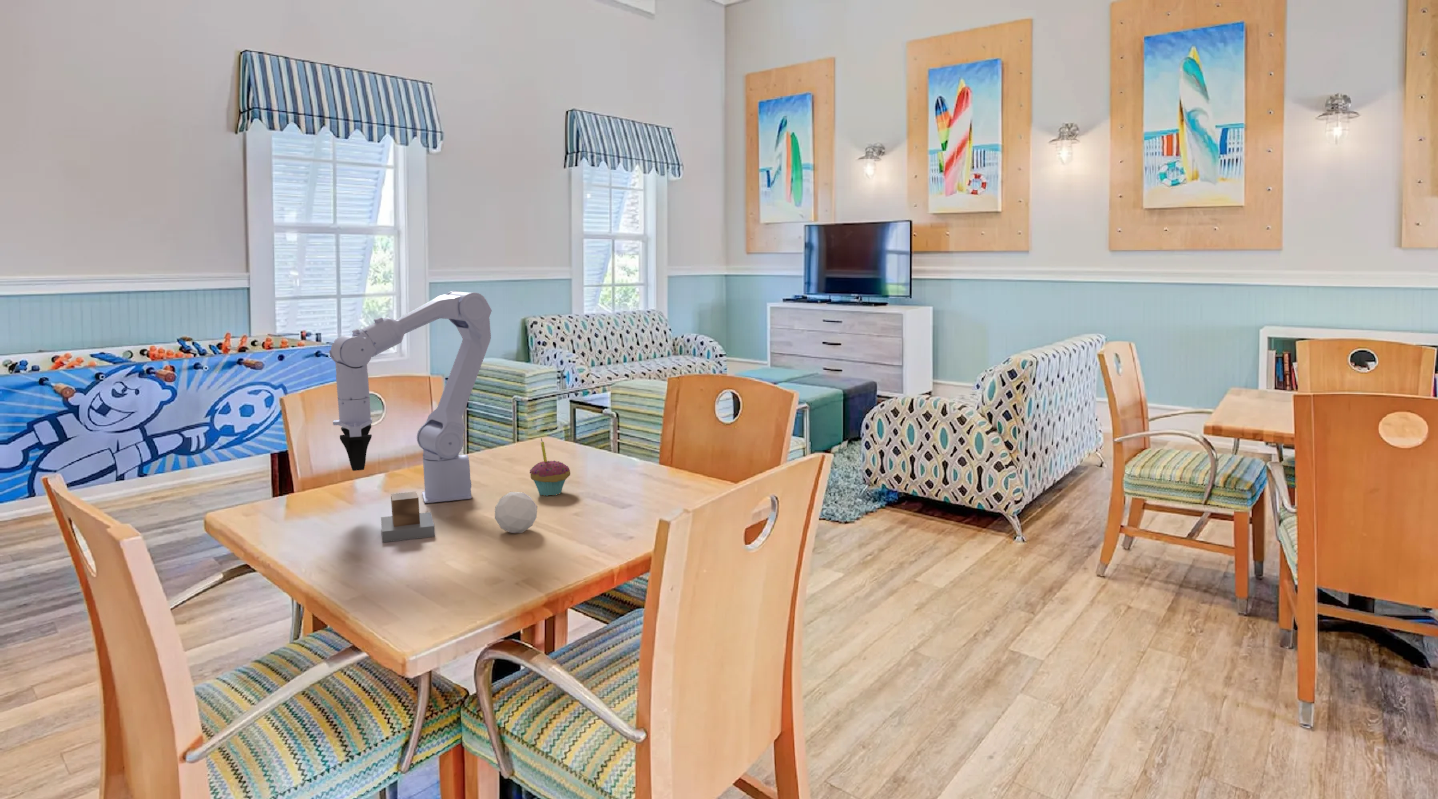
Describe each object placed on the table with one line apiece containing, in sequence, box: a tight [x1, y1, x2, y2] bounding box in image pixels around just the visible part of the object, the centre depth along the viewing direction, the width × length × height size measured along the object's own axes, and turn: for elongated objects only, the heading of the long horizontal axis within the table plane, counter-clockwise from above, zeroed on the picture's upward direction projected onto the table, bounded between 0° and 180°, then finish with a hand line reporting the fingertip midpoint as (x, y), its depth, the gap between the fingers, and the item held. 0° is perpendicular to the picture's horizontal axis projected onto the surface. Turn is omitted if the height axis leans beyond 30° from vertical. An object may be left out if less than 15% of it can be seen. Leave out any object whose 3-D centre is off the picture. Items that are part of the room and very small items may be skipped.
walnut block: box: [390, 491, 420, 527], centre depth 160 cm, size 4×4×5 cm
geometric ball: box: [494, 491, 538, 534], centre depth 161 cm, size 8×8×8 cm
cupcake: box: [529, 438, 571, 497], centre depth 185 cm, size 9×8×12 cm
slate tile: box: [380, 511, 436, 543], centre depth 160 cm, size 9×9×2 cm
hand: (358, 465), depth 170 cm, fingers open, 7 cm apart
